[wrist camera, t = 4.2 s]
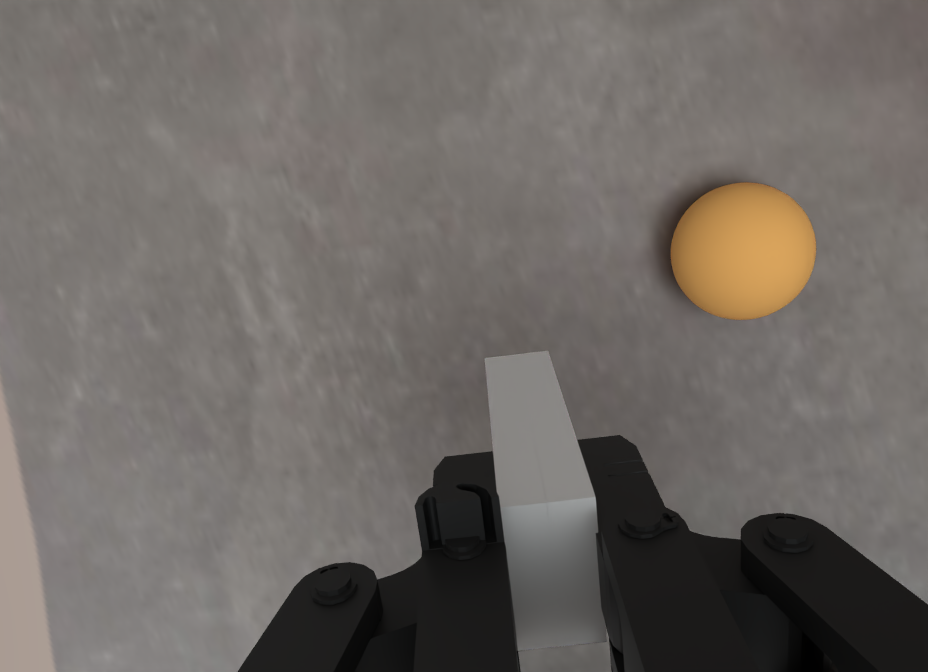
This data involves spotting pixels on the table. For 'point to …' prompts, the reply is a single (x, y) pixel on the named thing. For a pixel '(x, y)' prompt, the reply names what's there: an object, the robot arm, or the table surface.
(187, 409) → the table surface
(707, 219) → the ball
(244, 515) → the table surface
